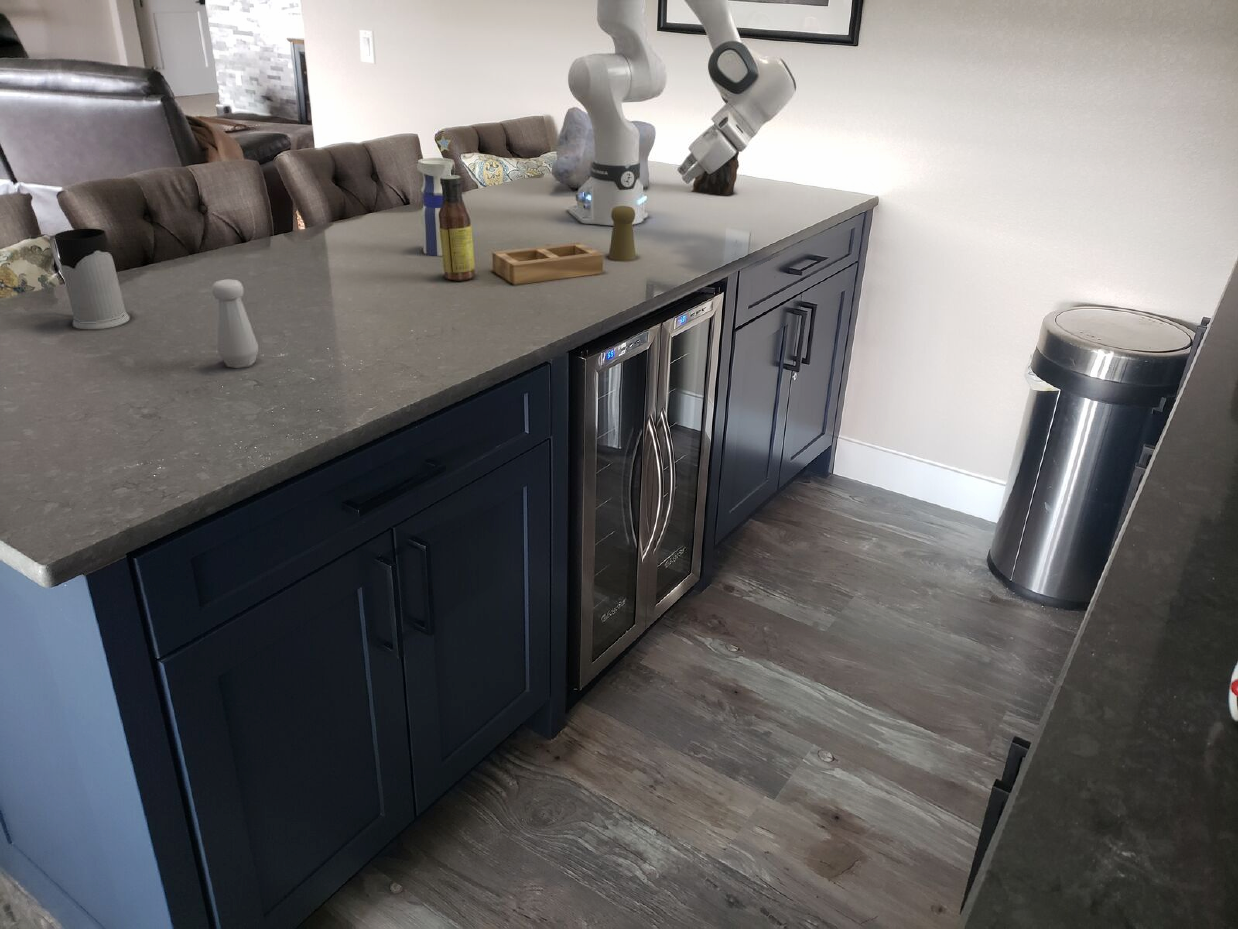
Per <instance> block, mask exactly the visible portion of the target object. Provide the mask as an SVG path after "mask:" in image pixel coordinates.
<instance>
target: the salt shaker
mask: <svg viewBox="0 0 1238 929" xmlns="http://www.w3.org/2000/svg"><path fill="white" fill-rule="evenodd" d="M211 292H212V295H213V297H214V299H216V300H218V326H217V328H218V329H217V351H218V355H219V356H220V358H221V359H222V360H223V362H224V364H225V365H226V366H227V367H229V368H234V369H240V368H241V369H242V368H246V367H251V366H252V365H253V364H254V363H256V359H257V357H258V353H259V345H258V342H257V339H256V336H255V332H254V331H253V328H252V325H251V322H250V320H249V317H248V313H247V312H246V309H245V306H244V303H243V301H242V298H241V297H243V296H244V293H245V292H244V286H243V284H242V283H241V281H239V280H237V279H232V278H231V279H230V278H227V279H221V280H217V281H215V282H214V283H213V284H212V285H211Z"/></svg>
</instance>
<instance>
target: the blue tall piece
mask: <svg viewBox="0 0 1238 929" xmlns="http://www.w3.org/2000/svg"><path fill="white" fill-rule="evenodd" d="M436 143H437V144H438V145H439V146H440V153H441V152H443V151H448V152H449V151H450V149H449V144H450V143H451V140H449V139H446V138H445V136H444V135H442V136H441V139H440V140H438V141H436ZM455 164H456V163H455V161H454V159H452V158H448V157H447V158H445V157H426V158H421V159H418V161H417V165H416V170H417V171H418V172H419V173H421V175H422V179H423V180H422V187H421V189H420V192H421V193H422V199H423V206H422V210H421V217H422V218H421V219H422V236H423V238H422V240H423V242H422V243H423V253H424V254H426V255H428V256H437V257H439V256H440V257H442V249H441V238H440V228H439V227H440V223H439V211H440V208H441V206H442V203H443V198H442V197H443V194H442V186H441V184H440V177H442V176H446V175H452V174H451V173H452V172H453V175H456V165H455Z"/></svg>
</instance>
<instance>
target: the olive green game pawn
mask: <svg viewBox="0 0 1238 929" xmlns="http://www.w3.org/2000/svg"><path fill="white" fill-rule="evenodd" d="M611 218H612V220H613V222H614V224H613V225H612V232H611V237H610V245H609V252H608V258H609V259H610V260H613V261H618V262H629V261H634V260H635V259H636V258H637V257H636V247H635V234H634V226H633V225H634V224H632V222H633V221H634V219H635V211H634V209H633V208H632V207H628V206H617V207H615V208H613V210H612V213H611Z"/></svg>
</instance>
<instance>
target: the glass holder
mask: <svg viewBox="0 0 1238 929" xmlns="http://www.w3.org/2000/svg"><path fill="white" fill-rule="evenodd" d="M49 247H50V250H51V254H52V258H53V260H54V262H55V265H56V267H57V269H58V271H59V273H60V275H61V277H62V278H63V280H64V284H65V288H66V292H67V296H68V300H69V304H70V307H71V311H72V316H73V320H72V326H73V327H74V328H75V329H81V330H103V329H110V328H114V327H118V326H121V325H123V324H125V323H127V322H128V321H130V318H131V317H130V315H129V314H128V313H127V311H126V309H125V305H124V299H123V295H122V292H121V287H120V283H119V278H118V275H117V271H116V266H115V262H114V259H113V255H112V254H111V249H110V244H109V241H108V236H107V232H106V230H104V229H100V228H75V229H69V230H63V231H59V232H57V233H55V234H52V235H50V237H49ZM123 315H124V316H123ZM122 316H123V317H122ZM118 318H119V319H118ZM74 319H76V320H78V321H80V322H77V321H75V320H74ZM113 319H116V320H113ZM110 320H112V321H110ZM106 321H107V322H106ZM81 322H101V323H81Z"/></svg>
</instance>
